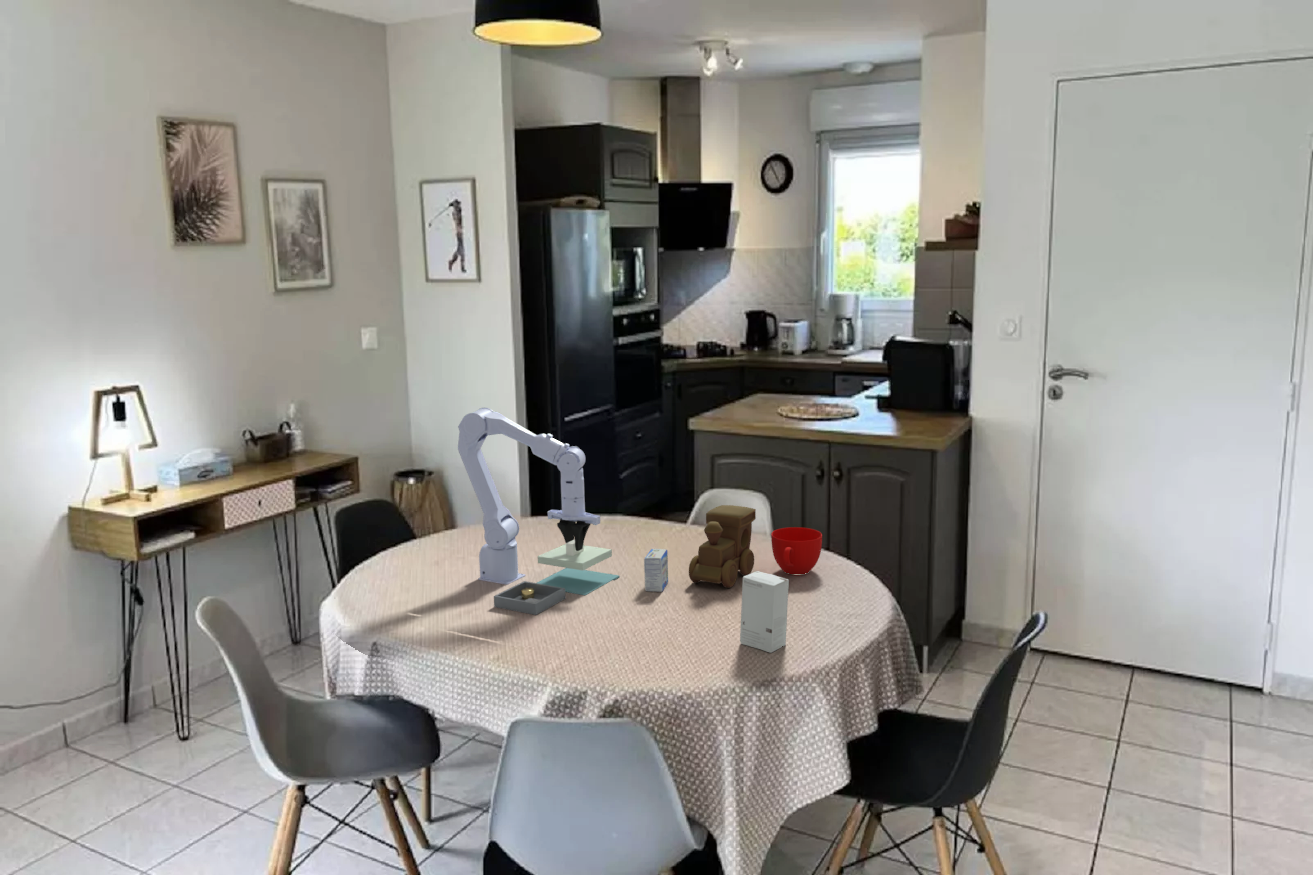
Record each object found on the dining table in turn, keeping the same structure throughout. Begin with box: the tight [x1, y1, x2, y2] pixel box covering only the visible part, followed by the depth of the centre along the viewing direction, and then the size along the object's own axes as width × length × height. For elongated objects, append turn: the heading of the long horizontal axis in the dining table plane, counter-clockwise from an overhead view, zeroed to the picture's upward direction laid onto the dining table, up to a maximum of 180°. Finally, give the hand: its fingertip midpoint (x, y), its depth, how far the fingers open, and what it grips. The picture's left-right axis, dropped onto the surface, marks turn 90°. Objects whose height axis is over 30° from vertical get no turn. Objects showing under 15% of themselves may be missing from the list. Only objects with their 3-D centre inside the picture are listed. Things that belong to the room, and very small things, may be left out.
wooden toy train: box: [688, 504, 757, 589], centre depth 245 cm, size 20×11×17 cm, turn 151°
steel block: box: [525, 598, 539, 603], centre depth 227 cm, size 4×2×2 cm, turn 61°
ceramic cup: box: [770, 526, 823, 575], centre depth 247 cm, size 13×17×10 cm
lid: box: [537, 538, 613, 570], centre depth 244 cm, size 13×13×5 cm
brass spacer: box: [521, 588, 534, 600], centre depth 233 cm, size 3×3×2 cm
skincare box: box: [739, 570, 790, 654], centre depth 202 cm, size 8×6×15 cm
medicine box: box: [643, 548, 669, 593], centre depth 240 cm, size 8×4×9 cm, turn 168°
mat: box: [536, 568, 621, 596], centre depth 245 cm, size 16×16×1 cm
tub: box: [493, 580, 566, 616], centre depth 230 cm, size 12×12×3 cm
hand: (574, 549), depth 244 cm, fingers closed on lid
